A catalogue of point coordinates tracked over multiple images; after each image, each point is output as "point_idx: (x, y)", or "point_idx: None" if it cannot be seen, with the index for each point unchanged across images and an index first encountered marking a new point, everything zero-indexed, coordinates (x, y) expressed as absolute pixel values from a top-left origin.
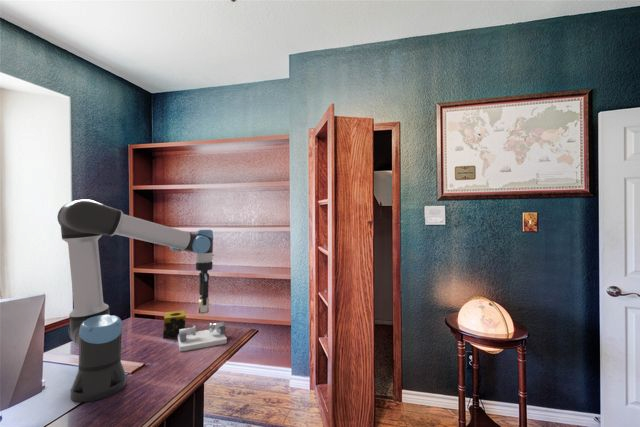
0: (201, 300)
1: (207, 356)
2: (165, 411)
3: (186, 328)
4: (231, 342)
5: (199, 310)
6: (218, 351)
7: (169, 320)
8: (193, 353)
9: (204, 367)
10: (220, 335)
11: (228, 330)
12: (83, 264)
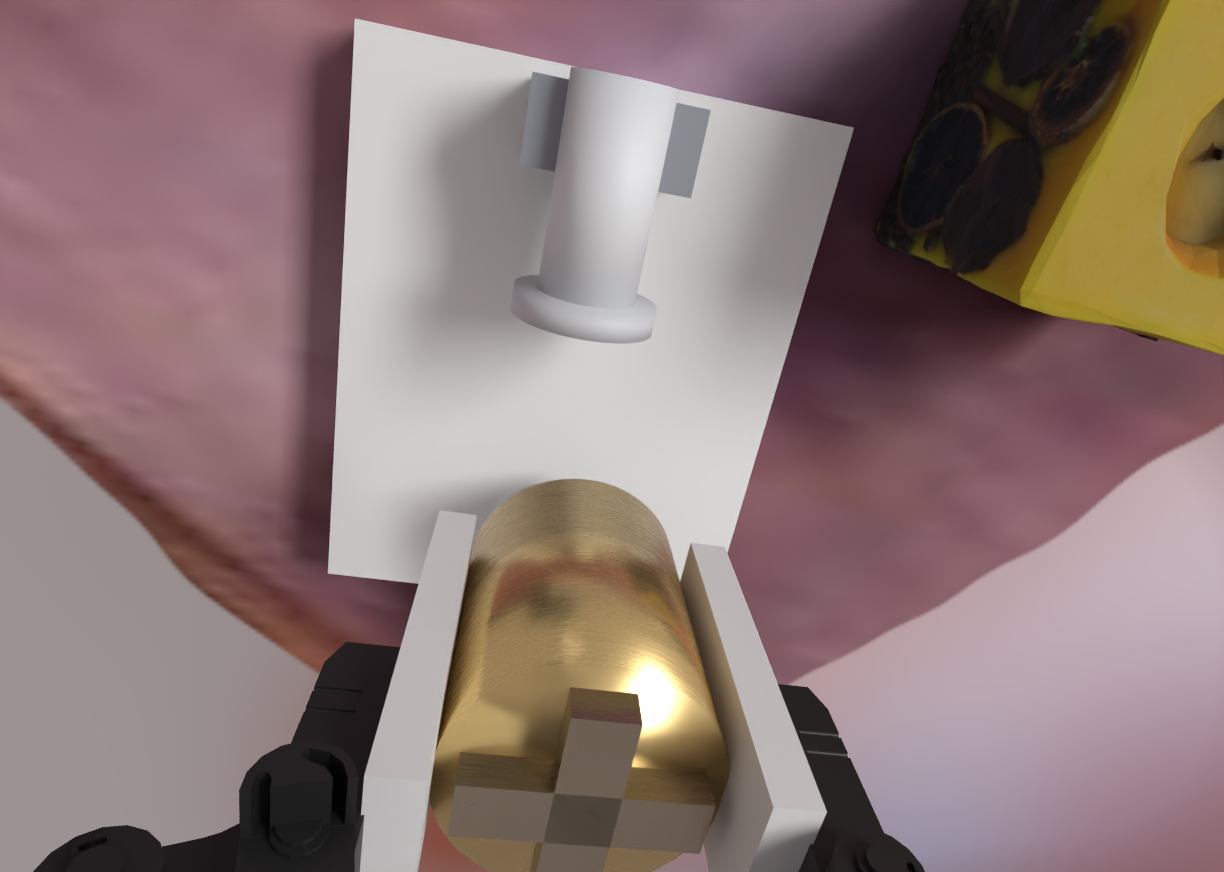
0: (383, 717)
1: (61, 274)
2: None
3: (607, 196)
4: (336, 587)
5: (543, 511)
6: (154, 414)
7: (1132, 4)
8: (227, 161)
9: None
10: None
11: None
12: None
